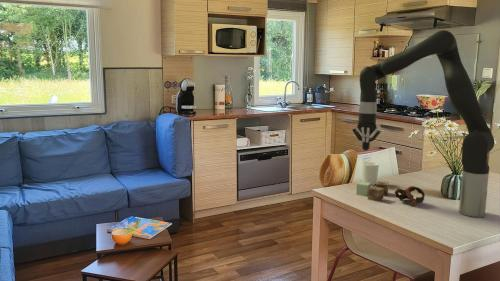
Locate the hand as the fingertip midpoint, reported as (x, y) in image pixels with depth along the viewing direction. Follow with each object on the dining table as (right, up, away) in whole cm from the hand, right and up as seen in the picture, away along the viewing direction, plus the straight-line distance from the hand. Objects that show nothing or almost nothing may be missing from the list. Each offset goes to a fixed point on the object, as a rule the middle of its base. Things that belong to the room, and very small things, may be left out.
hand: (365, 150), depth 199 cm
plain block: (0, -20, +4) cm, 20 cm away
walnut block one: (+9, -20, +4) cm, 22 cm away
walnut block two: (+3, -22, -4) cm, 22 cm away
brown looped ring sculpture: (+16, -23, -9) cm, 29 cm away
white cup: (+7, -17, +21) cm, 28 cm away
